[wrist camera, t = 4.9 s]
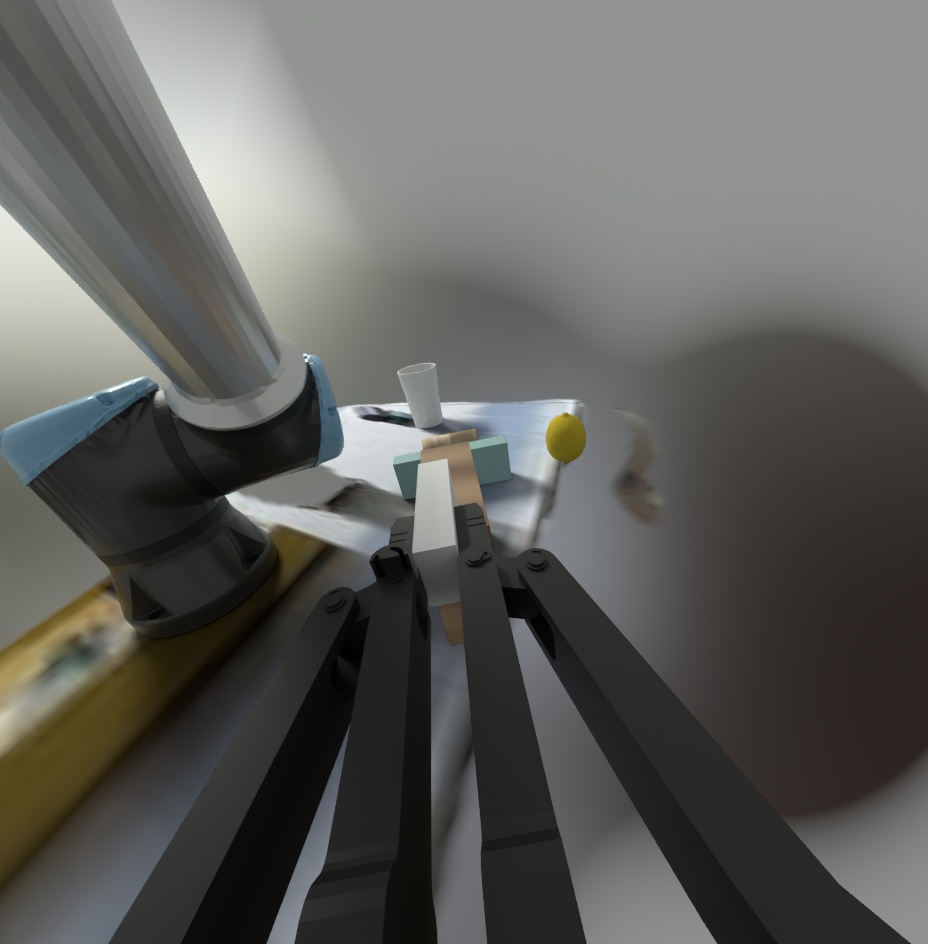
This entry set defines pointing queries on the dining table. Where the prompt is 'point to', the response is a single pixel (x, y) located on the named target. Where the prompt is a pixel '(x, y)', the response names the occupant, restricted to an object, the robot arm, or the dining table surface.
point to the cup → (422, 394)
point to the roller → (450, 439)
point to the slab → (465, 494)
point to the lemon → (565, 438)
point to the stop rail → (486, 457)
